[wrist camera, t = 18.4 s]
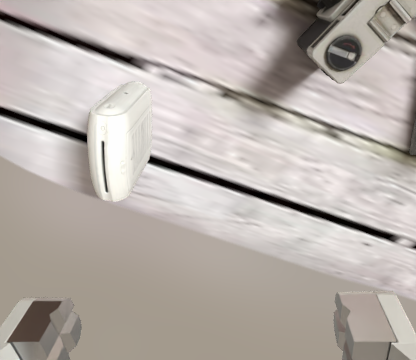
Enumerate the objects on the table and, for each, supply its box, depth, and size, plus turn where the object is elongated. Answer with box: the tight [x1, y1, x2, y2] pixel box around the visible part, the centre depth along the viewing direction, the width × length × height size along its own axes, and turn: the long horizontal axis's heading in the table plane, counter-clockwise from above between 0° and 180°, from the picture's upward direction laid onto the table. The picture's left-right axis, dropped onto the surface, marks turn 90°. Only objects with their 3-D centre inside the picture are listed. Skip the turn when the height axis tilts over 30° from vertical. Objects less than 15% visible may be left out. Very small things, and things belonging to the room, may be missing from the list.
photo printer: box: [87, 81, 152, 202], centre depth 38 cm, size 10×4×12 cm, turn 175°
